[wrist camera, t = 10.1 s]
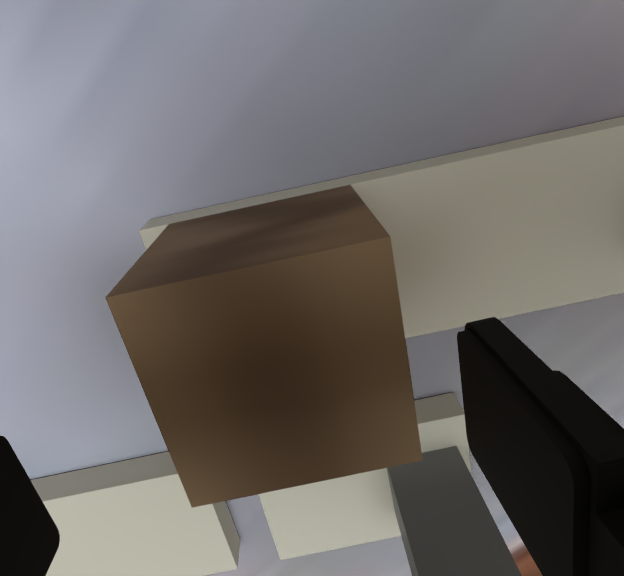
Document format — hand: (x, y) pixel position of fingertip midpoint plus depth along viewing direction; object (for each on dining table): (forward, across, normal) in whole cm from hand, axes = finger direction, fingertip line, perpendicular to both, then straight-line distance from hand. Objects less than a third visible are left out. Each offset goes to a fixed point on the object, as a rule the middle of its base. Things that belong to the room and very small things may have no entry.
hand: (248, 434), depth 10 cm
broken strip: (+9, +3, +10) cm, 14 cm away
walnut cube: (+7, -1, 0) cm, 7 cm away
